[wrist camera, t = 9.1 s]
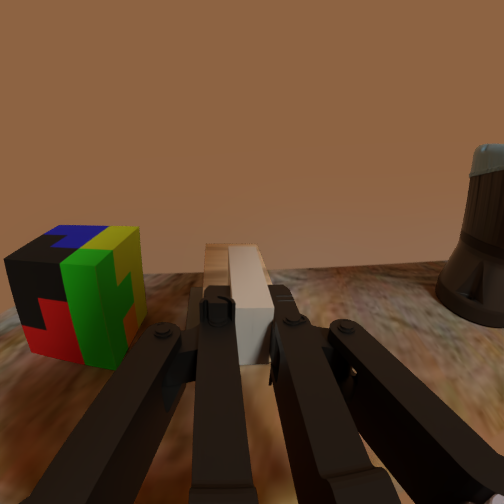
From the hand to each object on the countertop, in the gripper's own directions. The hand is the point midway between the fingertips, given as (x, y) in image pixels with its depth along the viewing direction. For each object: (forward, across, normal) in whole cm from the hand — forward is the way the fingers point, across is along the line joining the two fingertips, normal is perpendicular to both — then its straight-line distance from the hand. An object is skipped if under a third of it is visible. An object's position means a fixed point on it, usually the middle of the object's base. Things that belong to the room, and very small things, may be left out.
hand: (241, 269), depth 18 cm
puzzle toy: (+9, -15, -12) cm, 21 cm away
